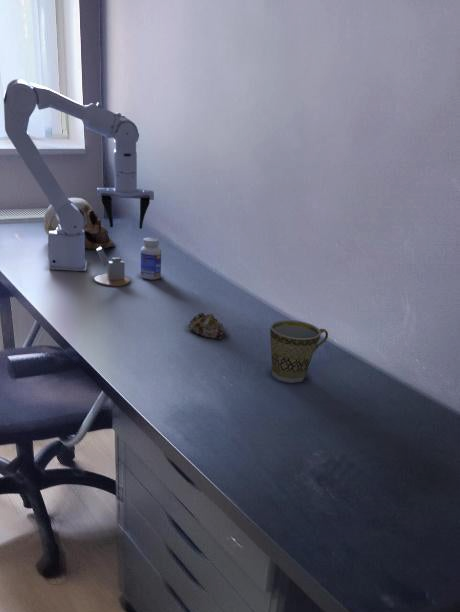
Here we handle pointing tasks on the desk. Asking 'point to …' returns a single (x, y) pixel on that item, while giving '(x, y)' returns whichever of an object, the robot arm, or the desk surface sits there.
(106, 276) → the coaster
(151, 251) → the pill bottle
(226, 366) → the desk surface
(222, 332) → the mineral rock
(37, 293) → the desk surface
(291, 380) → the ceramic cup
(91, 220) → the brown skull
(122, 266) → the lighter
